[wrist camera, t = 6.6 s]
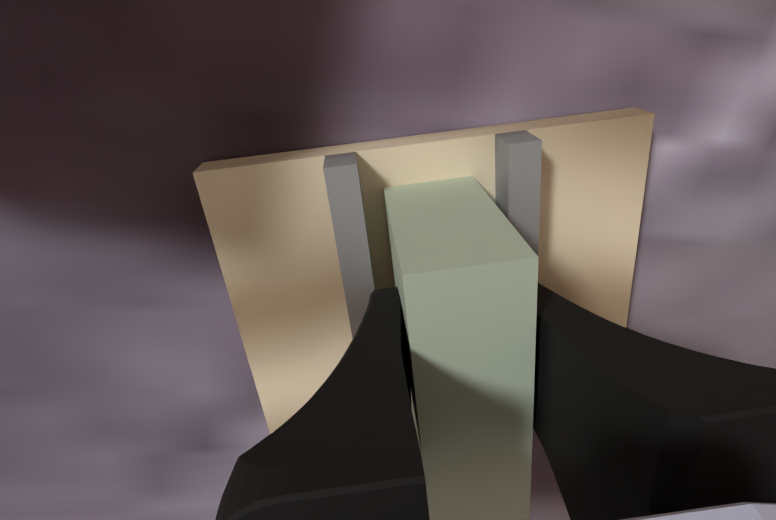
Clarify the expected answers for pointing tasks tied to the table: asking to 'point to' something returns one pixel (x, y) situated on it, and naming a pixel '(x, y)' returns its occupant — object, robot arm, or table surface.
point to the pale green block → (467, 345)
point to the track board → (371, 237)
